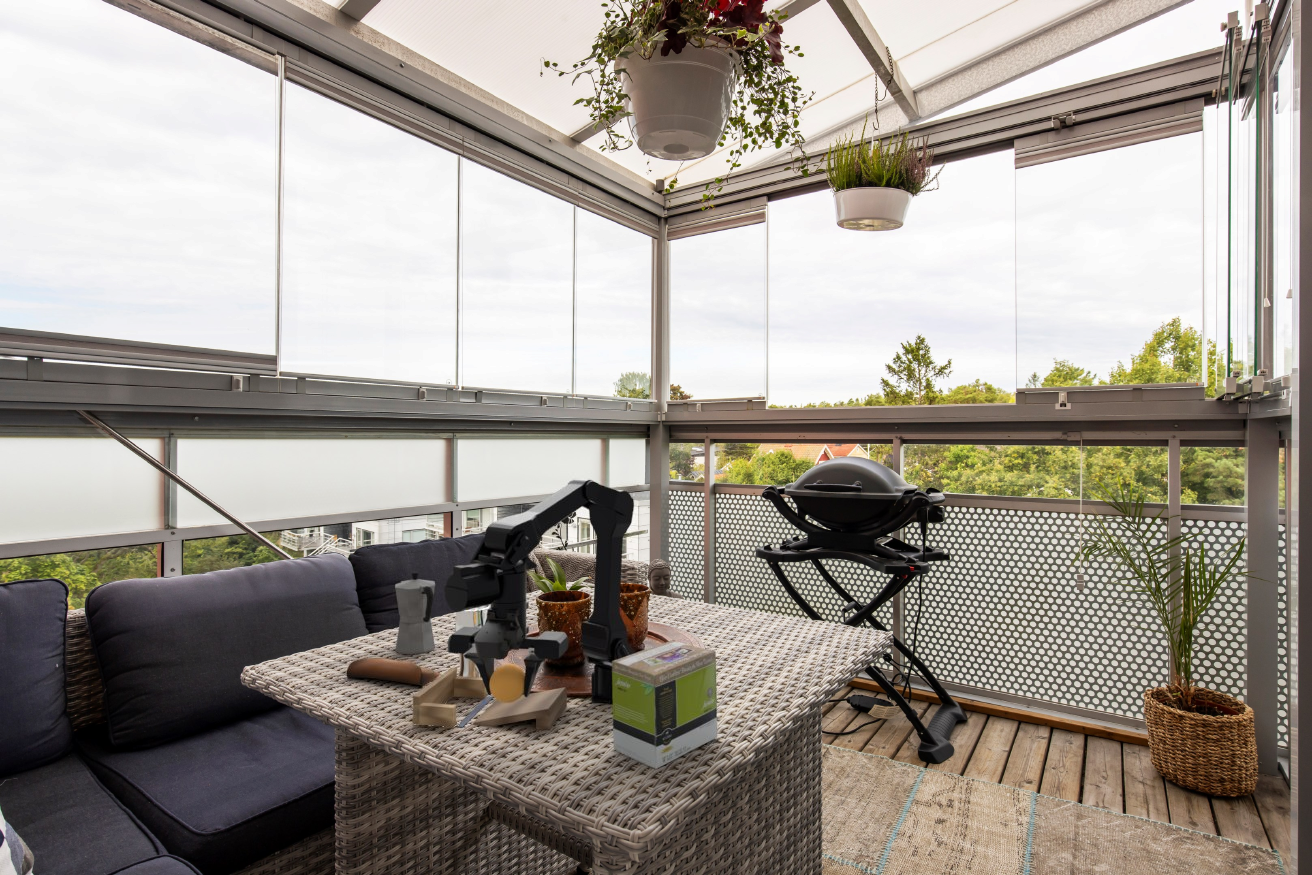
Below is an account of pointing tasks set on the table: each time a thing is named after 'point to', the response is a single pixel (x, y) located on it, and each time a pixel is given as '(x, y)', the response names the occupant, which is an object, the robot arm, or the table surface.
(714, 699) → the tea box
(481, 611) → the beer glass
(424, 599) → the coffeepot
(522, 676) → the ball
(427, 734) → the table surface
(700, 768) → the table surface
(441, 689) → the wooden u-shaped bracket
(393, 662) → the sunglasses case
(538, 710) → the ramp
